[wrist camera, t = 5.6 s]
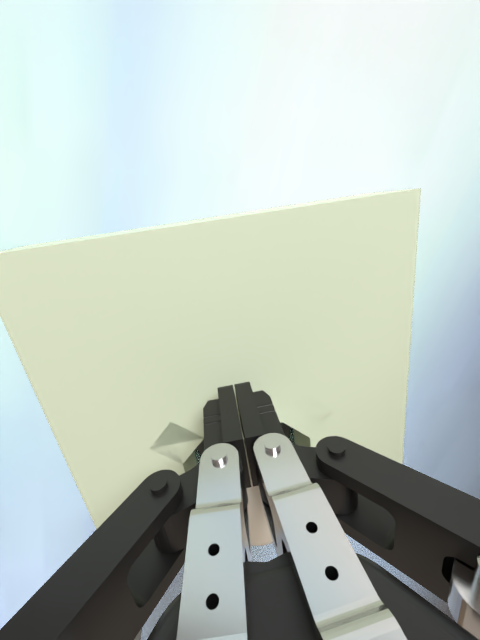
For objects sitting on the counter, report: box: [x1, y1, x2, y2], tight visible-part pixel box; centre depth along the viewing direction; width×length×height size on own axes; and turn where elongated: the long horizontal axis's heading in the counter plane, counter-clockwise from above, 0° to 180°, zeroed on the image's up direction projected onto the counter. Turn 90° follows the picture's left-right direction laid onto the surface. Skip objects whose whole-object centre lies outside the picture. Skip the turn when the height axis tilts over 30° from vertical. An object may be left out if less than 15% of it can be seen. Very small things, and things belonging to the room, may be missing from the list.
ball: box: [242, 433, 273, 546], centre depth 15 cm, size 5×5×5 cm
